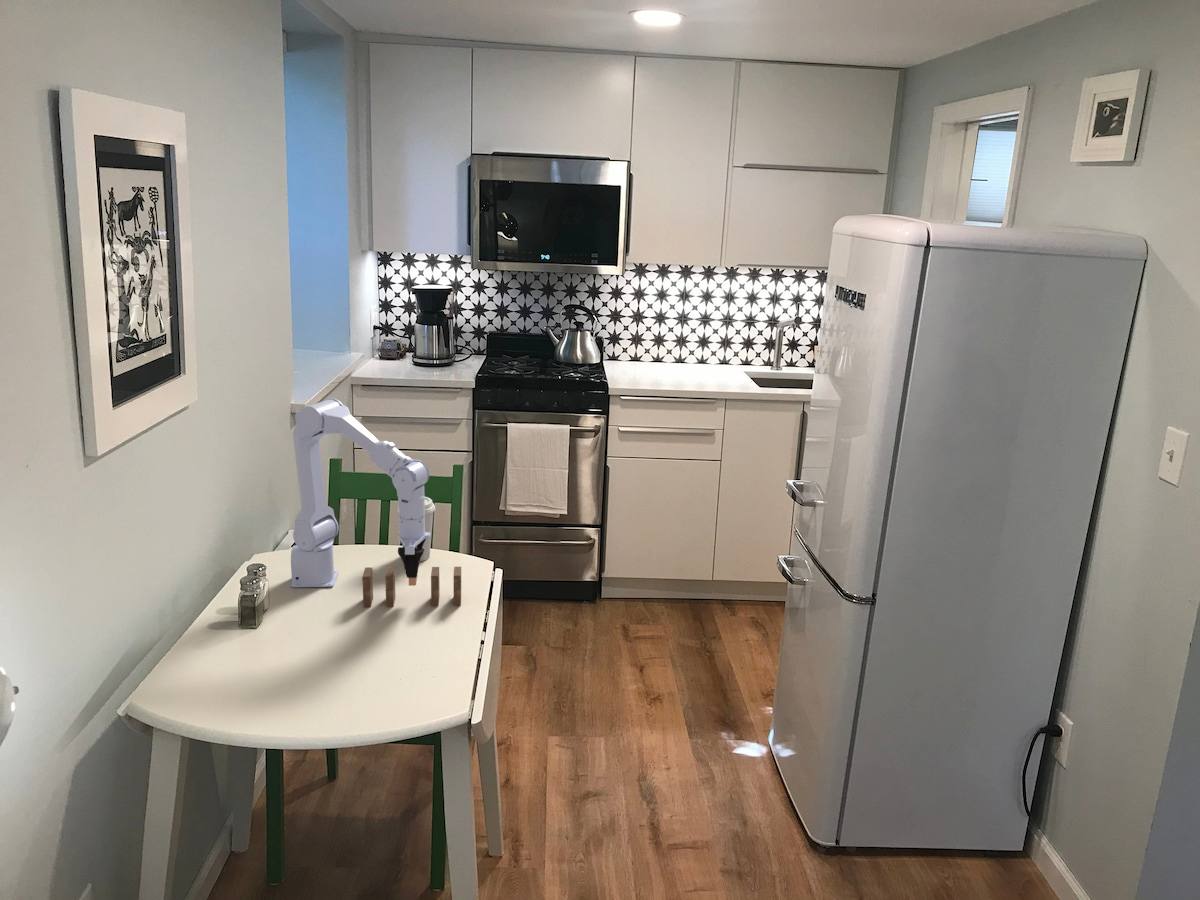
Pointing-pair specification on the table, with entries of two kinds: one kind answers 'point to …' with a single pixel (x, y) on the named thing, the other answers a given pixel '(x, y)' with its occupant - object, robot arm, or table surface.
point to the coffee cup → (427, 527)
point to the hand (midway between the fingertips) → (412, 571)
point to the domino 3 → (412, 580)
